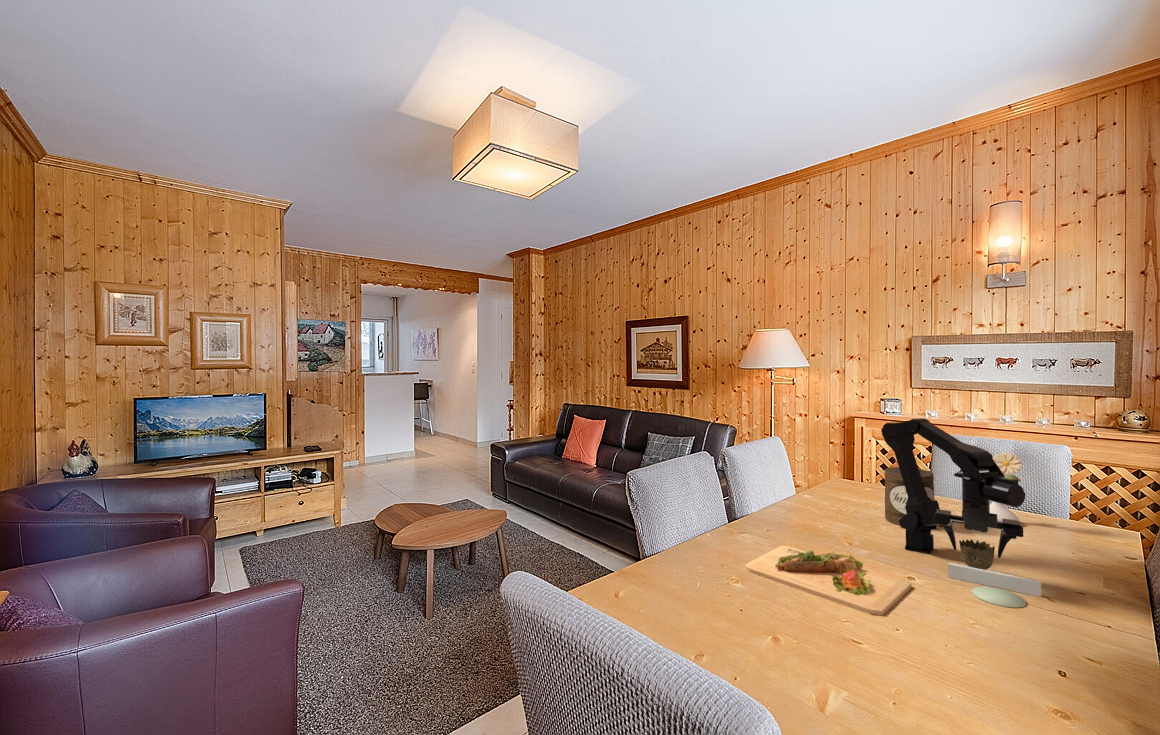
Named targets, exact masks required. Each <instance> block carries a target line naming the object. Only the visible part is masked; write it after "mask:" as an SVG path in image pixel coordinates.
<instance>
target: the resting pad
mask: <svg viewBox="0 0 1160 735" xmlns="http://www.w3.org/2000/svg"><path fill="white" fill-rule="evenodd" d="M971 593H972V595H973V596H974V597H975V598H977V599H979V600H981V601H983V602H985V603H989V604H991V605H995V606H999V607H1003V608H1011V609H1012V608H1013V609H1019V608H1020V609H1022V608H1024V607H1026V606H1027V601H1026V600H1025V599H1024V598H1023V597H1021V596H1020V595H1018V594H1016V593H1014V592H1011V591H1010V590H1006V589H1002V588H997V587H992V586H976V587H972V588H971Z"/></svg>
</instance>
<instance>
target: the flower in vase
mask: <svg viewBox="0 0 1160 735" xmlns="http://www.w3.org/2000/svg"><path fill="white" fill-rule="evenodd" d="M992 458H993V460H994V461H995V463H996V464H997V466H998V467H999V468H1000V470H1001V471H1002V473H1003V474H1004V476H1005V477H1004V478H1008V479H1016V480H1018V483H1019V482H1022V480H1021V479H1020V478H1019V477H1018V476H1016V475H1015V474H1017V473H1019V471H1020V470H1021V469H1022V467H1023V463H1022V460H1021V459H1020V457H1019V456H1017V455H1014V454H1013V453H1008V452H1004V453H1003V452H1000V453H999V454H995V455H994V456H993V457H992ZM990 513H992V514H997V522H1002V518H1003V519H1010V520H1017V521H1020V518H1019V517H1018V515H1016V514H1015V513H1014V512H1012V510H1010V509H1009V508H1007V507H1006V505H1005V504H1001V503H997V502H993V501H991V502H990Z"/></svg>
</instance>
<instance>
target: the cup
mask: <svg viewBox="0 0 1160 735" xmlns="http://www.w3.org/2000/svg"><path fill="white" fill-rule="evenodd" d="M959 548H960V553H961V558H962V561H963V562H964V564H966V565H965V566H968V567H973V568H978V569H983V570H989V569H990V568H991V567H992V565H993V563H994V559H995V558H994V557H995V549H996V547H995V546H994V545H992V547H991V546H990V543H989V542H988V543H987V542H986V541H981V542H980V541H979V540H978V539H977V540H976V541H974V540H973V539H970V540H969V539H966V540H965V539H962V540H961V539H960V540H959Z"/></svg>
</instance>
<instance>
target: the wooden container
mask: <svg viewBox="0 0 1160 735" xmlns="http://www.w3.org/2000/svg"><path fill="white" fill-rule="evenodd" d="M918 469H919V472H920V475H921V478H922V481H923V484H924V487H925V491H926V494H927V496H928V497H929V498H930V499H931V500H932V501H934V500H936V499H935V485H934V484H935V483H934V473H933V472H931V471H930V470H926V469H923V468H922V469H921V468H918ZM907 499H908V495H907V492H906V489H905V485H904V482H903V479H902V476H901V472H900V469H899V466H893V467H887V468H884V518H885V520H886V521H887V522H889V523H892V524H894V525H898V526H900V523H899V520H900V519H901V518H903V517H904V516H905V515H906V514H907V513H906V503H907Z"/></svg>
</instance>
